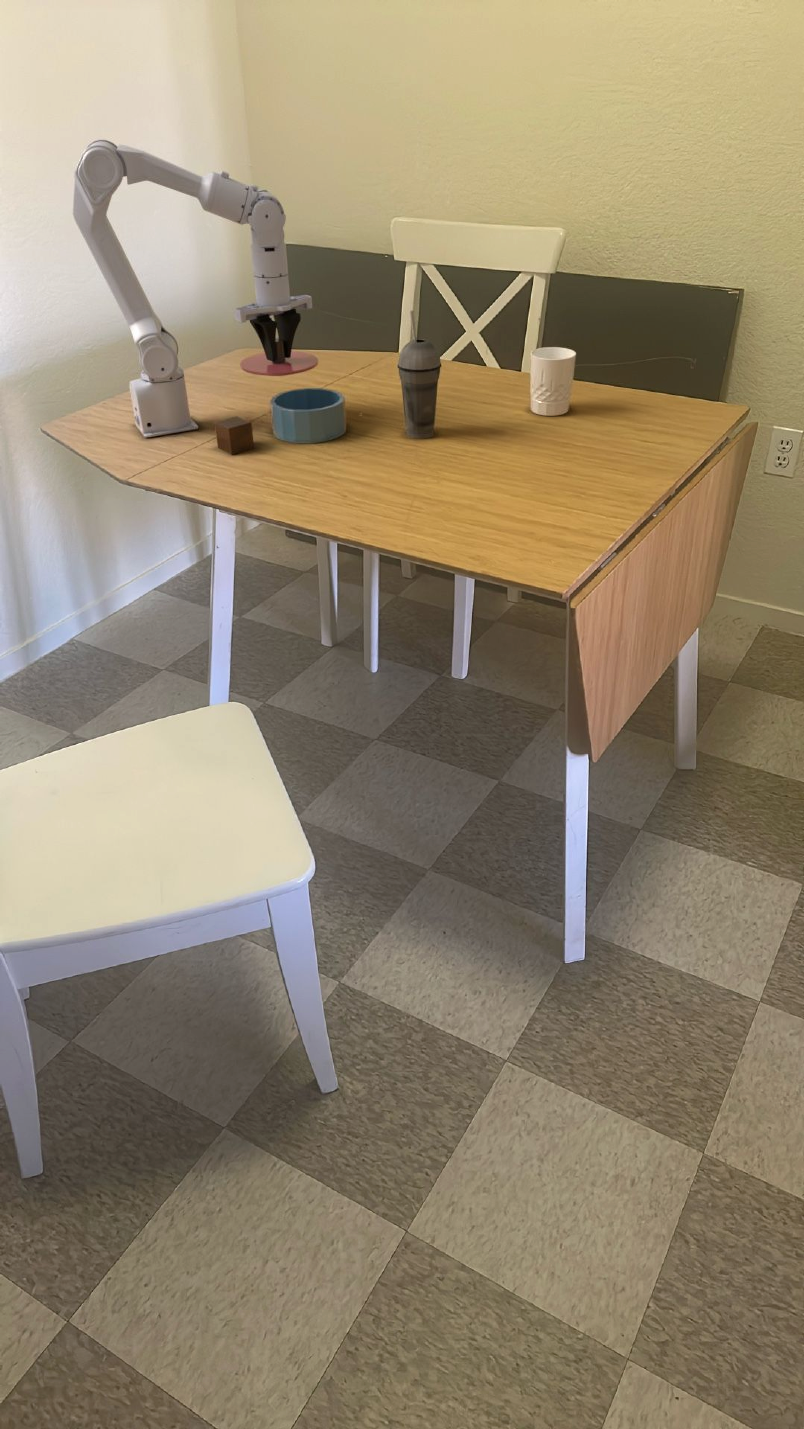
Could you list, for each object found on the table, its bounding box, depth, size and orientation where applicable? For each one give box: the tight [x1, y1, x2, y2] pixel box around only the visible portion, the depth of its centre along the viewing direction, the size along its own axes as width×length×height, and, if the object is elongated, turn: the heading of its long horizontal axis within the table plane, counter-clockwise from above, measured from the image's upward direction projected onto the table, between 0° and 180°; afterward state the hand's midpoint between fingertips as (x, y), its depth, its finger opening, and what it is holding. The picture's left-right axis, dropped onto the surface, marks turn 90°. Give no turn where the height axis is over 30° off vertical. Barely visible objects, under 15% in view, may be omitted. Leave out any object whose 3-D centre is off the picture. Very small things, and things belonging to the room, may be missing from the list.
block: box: [214, 415, 255, 455], centre depth 162 cm, size 4×4×4 cm
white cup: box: [529, 346, 577, 417], centre depth 172 cm, size 8×8×10 cm
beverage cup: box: [397, 310, 442, 440], centre depth 161 cm, size 7×7×20 cm
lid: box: [239, 337, 319, 377], centre depth 169 cm, size 14×14×5 cm
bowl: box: [269, 387, 347, 444], centre depth 168 cm, size 13×13×6 cm
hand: (278, 358), depth 169 cm, fingers closed on lid, 2 cm apart
